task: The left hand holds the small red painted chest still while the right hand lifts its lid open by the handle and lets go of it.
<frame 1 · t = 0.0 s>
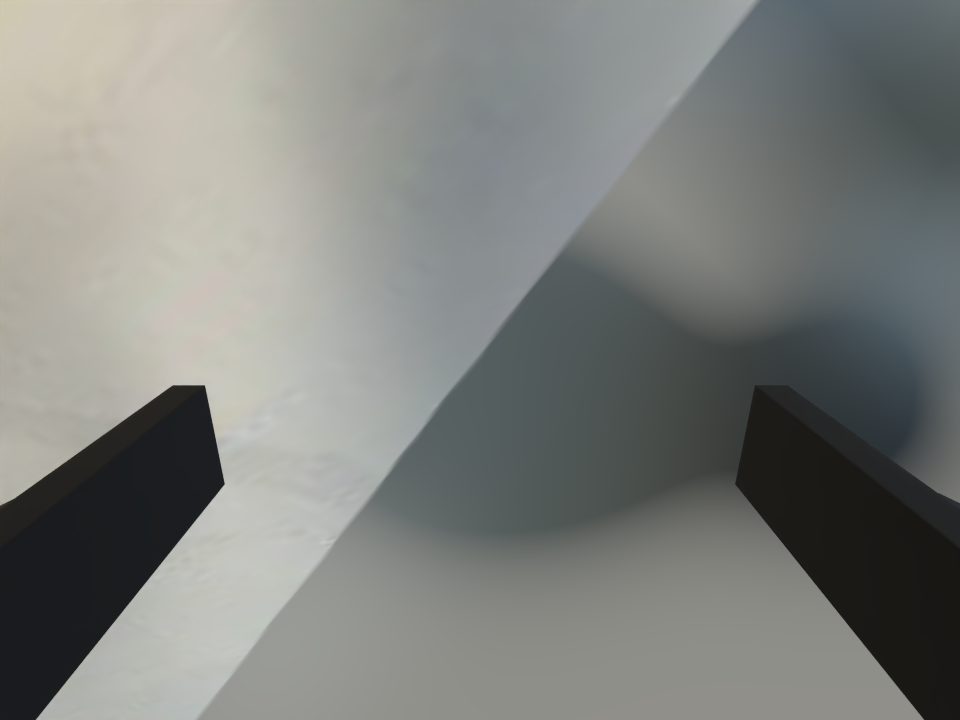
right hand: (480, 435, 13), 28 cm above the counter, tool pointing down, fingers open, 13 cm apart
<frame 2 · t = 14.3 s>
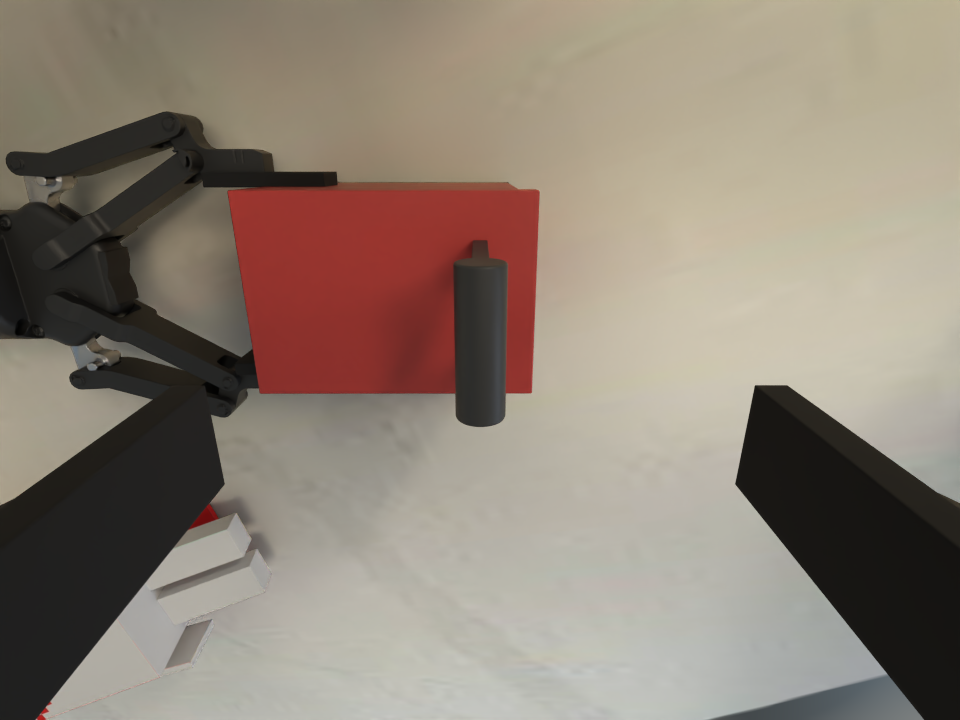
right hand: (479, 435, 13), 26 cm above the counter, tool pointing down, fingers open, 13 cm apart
left hand: (340, 275, 31), fingers closed on chest, 10 cm apart
lid: (377, 317, 23), point 16 cm above the counter, hinge at 0.0°
toy: (116, 561, 47), on the counter
chest: (411, 257, 37), on the counter, touching left hand
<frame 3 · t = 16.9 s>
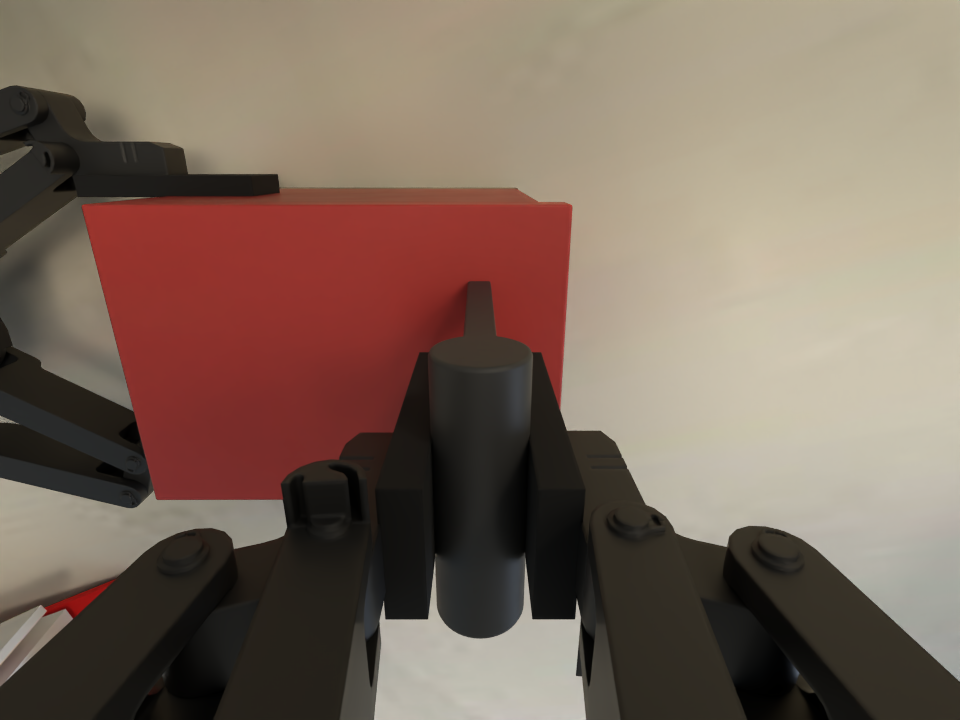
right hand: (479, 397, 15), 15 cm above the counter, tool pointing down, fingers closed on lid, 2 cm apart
lid: (312, 413, 14), point 16 cm above the counter, hinge at -0.1°, touching right hand
toy: (32, 652, 38), on the counter
chest: (389, 286, 28), on the counter, touching left hand
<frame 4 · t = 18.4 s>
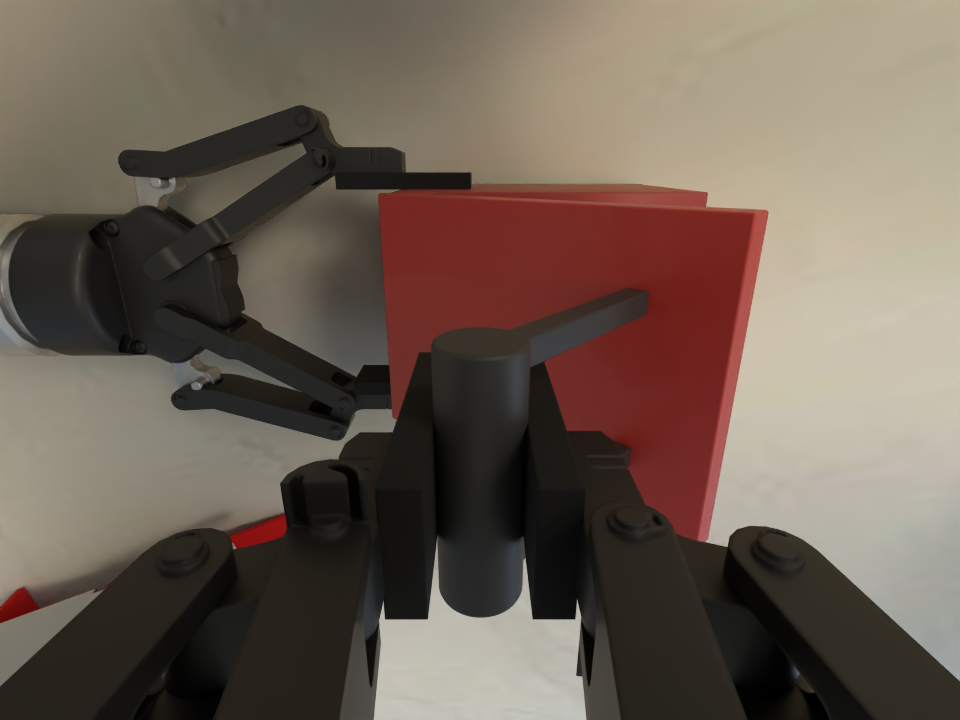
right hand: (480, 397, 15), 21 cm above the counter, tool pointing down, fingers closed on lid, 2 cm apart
left hand: (471, 286, 28), fingers closed on chest, 10 cm apart
lid: (448, 375, 16), point 19 cm above the counter, hinge at 40.9°, touching right hand
toy: (189, 586, 44), on the counter
chest: (526, 265, 34), on the counter, touching left hand
when the left hand's fingers open (6 cm above the counter, at t = 24.0 s): chest stays where it is, on the counter.
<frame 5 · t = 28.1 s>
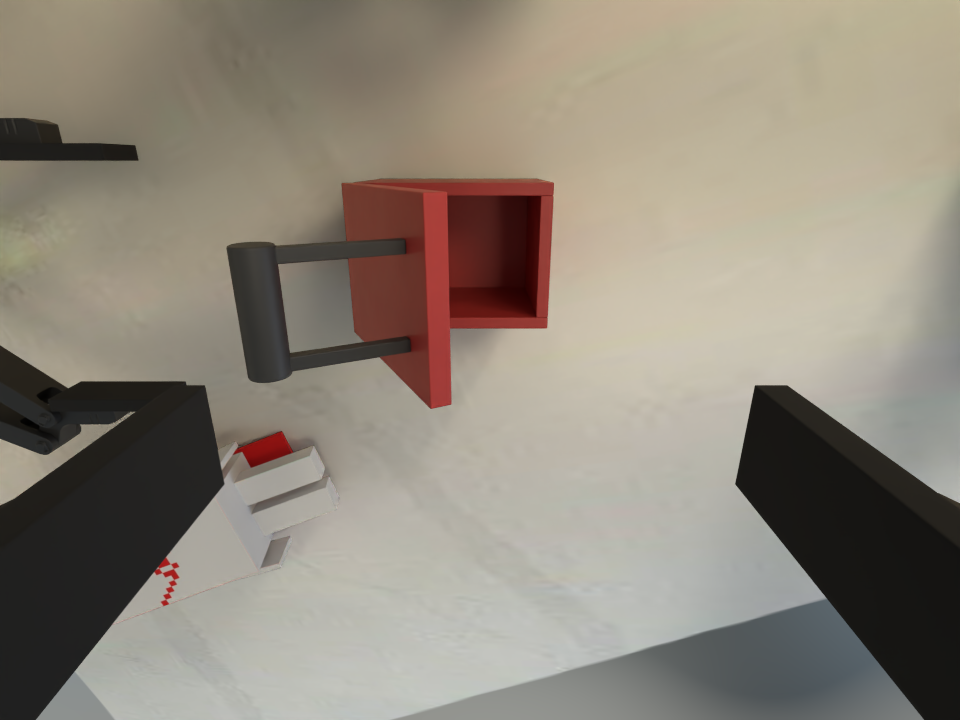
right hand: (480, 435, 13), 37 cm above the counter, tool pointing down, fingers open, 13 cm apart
lid: (320, 286, 28), point 20 cm above the counter, hinge at 62.6°
toy: (207, 492, 56), on the counter
chest: (459, 238, 47), on the counter
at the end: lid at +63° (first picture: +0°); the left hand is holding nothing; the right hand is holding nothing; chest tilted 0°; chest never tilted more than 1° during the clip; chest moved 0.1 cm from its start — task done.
